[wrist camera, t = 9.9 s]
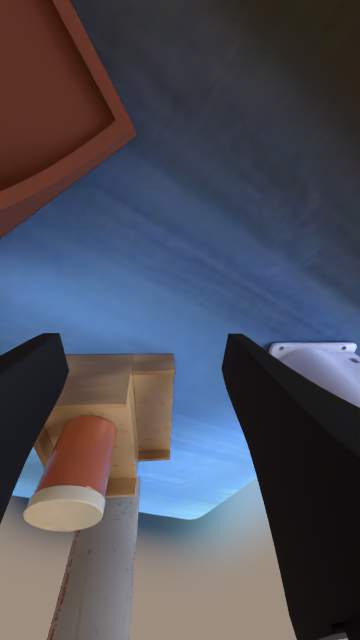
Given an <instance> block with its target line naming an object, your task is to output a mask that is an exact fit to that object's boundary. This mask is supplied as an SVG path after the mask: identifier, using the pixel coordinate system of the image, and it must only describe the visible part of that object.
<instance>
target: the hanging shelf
mask: <svg viewBox="0 0 360 640" xmlns="http://www.w3.org/2000/svg"><path fill="white" fill-rule="evenodd" d="M87 66H88V67H87ZM136 136H137V134H136V131H135V128H134V126H133V124H132V122H131V120H130V118H129V116H128V114H127V112H126V110H125V108H124V106H123V104H122V102H121V100H120V98H119V96H118V94H117V92H116V90H115V88H114V86H113V84H112V82H111V80H110V78H109V76H108V74H107V72H106V70H105V68H104V66H103V65H102V63H101V61H100V59H99V57H98V55H97V53H96V51H95V49H94V47H93V45H92V43H91V41H90V39H89V37H88V35H87V33H86V31H85V29H84V27H83V25H82V23H81V21H80V19H79V17H78V15H77V13H76V11H75V9H74V7H73V5H72V3H71V2H70V0H0V239H1V238H2V237H3V236H5V235H6V234H7V233H9V232H10V231H11V230H13V229H14V228H15V227H17V226H18V225H19V224H21V223H22V222H23V221H25V220H26V219H27V218H29V217H30V216H31V215H33V214H34V213H35V212H37V211H38V210H39V209H41V208H42V207H43V206H45V205H46V204H47V203H49V202H50V201H51V200H53V199H54V198H55V197H57V196H58V195H59V194H61V193H62V192H63V191H65V190H66V189H67V188H68V187H70V186H71V185H72V184H74V183H75V182H76V181H78V180H79V179H80V178H82V177H83V176H84V175H86V174H87V173H88V172H90V171H91V170H92V169H94V168H95V167H96V166H98V165H99V164H100V163H102V162H103V161H104V160H106V159H107V158H108V157H110V156H111V155H112V154H114V153H115V152H116V151H118V150H119V149H120V148H122V147H123V146H124V145H126V144H127V143H128V142H130V141H131V140H132V139H134V138H135V137H136ZM125 137H126V138H125Z"/></svg>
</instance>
